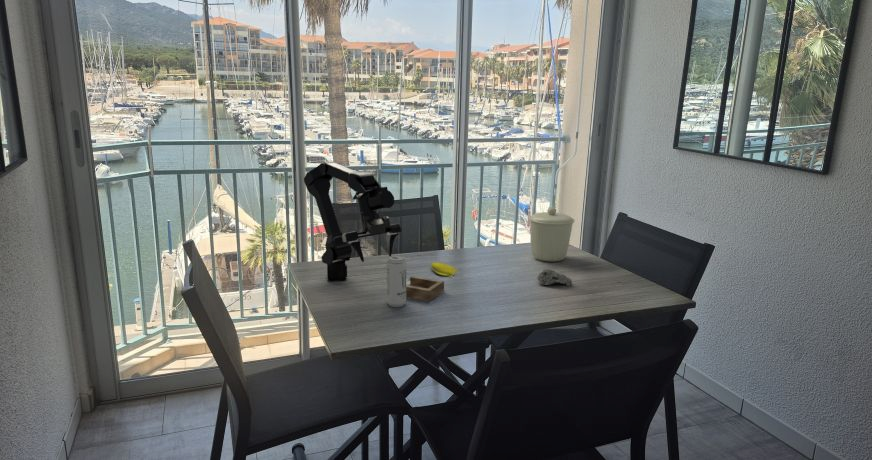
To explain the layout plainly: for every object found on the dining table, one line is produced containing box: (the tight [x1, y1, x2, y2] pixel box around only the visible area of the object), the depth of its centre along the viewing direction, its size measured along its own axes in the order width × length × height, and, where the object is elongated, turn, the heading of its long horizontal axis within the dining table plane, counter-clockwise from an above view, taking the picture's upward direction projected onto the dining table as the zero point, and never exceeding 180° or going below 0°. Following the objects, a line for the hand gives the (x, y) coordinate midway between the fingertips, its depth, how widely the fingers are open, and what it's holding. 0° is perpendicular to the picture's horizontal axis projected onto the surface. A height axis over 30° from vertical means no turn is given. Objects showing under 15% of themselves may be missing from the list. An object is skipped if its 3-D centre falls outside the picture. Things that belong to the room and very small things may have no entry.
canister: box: [528, 206, 575, 263], centre depth 232 cm, size 18×18×21 cm
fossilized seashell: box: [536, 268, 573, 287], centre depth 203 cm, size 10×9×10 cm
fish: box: [430, 261, 458, 279], centre depth 215 cm, size 3×16×10 cm
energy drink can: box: [386, 255, 407, 308], centre depth 179 cm, size 6×6×15 cm
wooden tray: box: [406, 275, 445, 302], centre depth 190 cm, size 12×11×4 cm
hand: (376, 259), depth 188 cm, fingers open, 9 cm apart
